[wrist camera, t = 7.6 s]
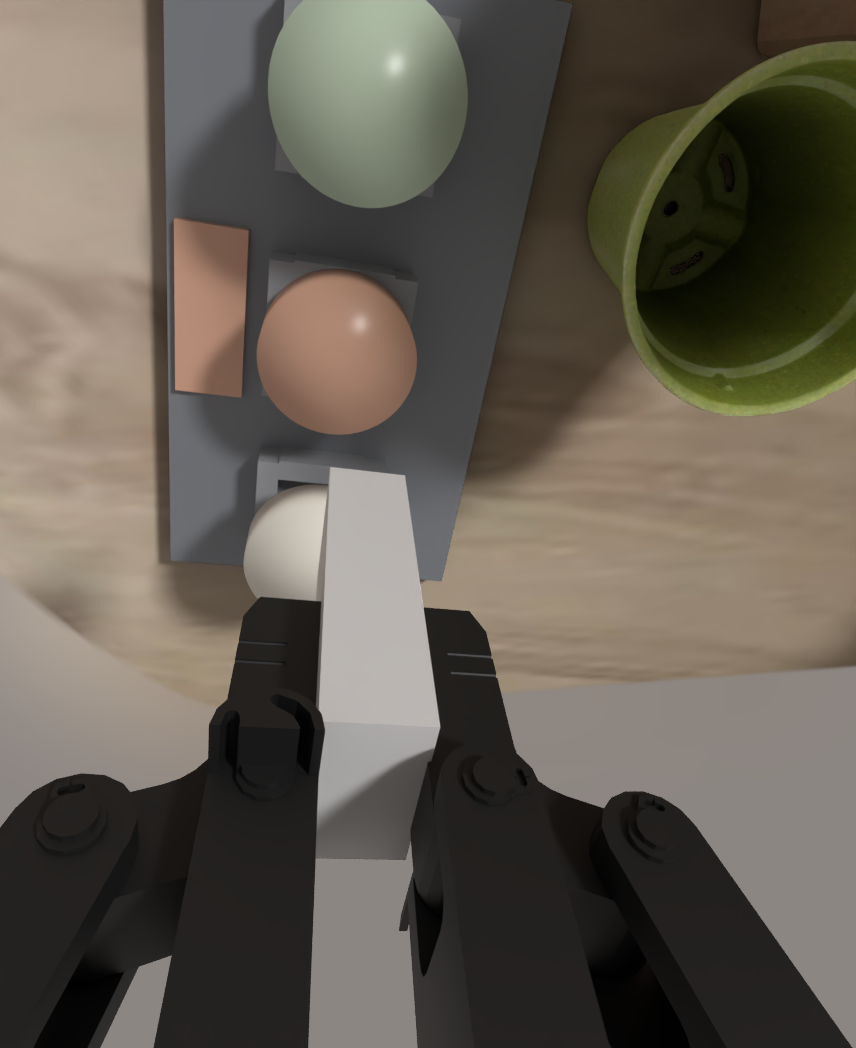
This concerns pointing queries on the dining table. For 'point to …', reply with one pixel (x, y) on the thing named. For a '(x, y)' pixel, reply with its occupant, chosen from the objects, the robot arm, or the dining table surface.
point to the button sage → (368, 97)
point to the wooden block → (804, 24)
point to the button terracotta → (336, 352)
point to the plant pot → (741, 236)
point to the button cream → (286, 544)
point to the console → (334, 267)
